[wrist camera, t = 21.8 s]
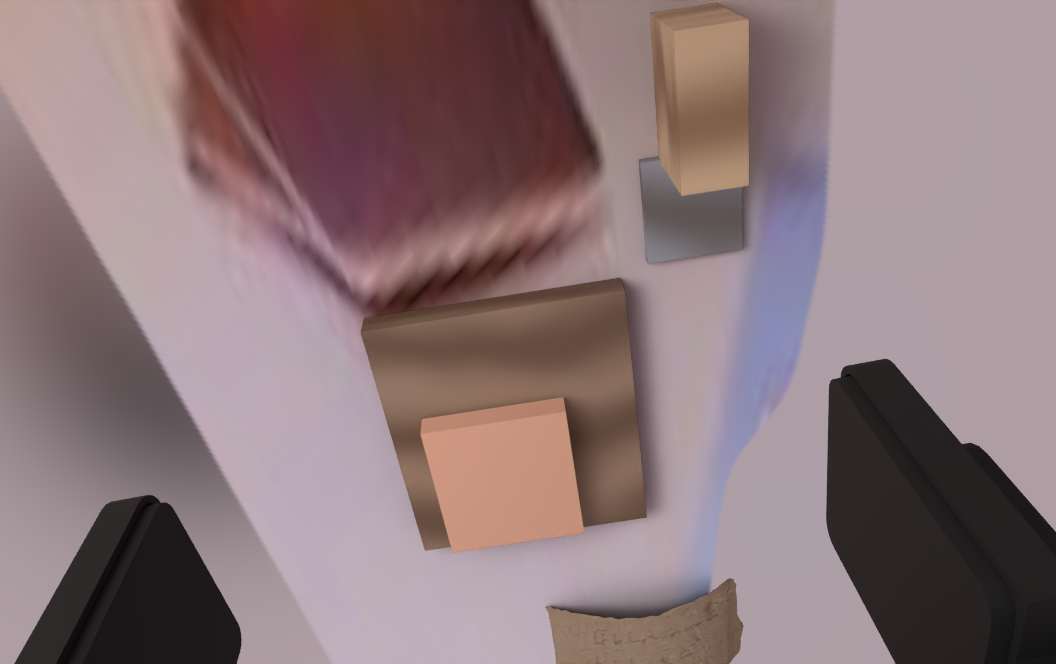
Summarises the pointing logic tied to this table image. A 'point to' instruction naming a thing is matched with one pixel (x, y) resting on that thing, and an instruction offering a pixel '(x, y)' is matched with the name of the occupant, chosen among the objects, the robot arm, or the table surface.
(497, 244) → the table surface
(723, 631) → the clay tablet
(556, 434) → the peach flat slab
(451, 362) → the walnut board
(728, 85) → the tan block
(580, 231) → the table surface
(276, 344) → the table surface
